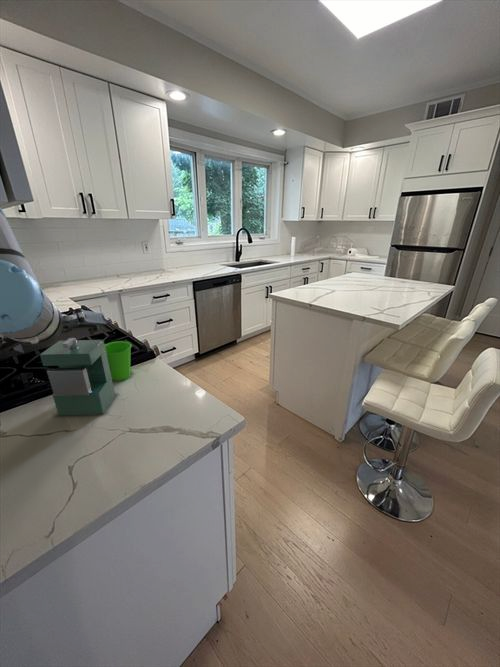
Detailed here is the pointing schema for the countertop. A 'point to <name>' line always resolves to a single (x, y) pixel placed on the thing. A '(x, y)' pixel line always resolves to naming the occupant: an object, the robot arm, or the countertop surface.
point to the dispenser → (97, 370)
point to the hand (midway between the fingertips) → (57, 337)
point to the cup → (119, 359)
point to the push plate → (69, 381)
